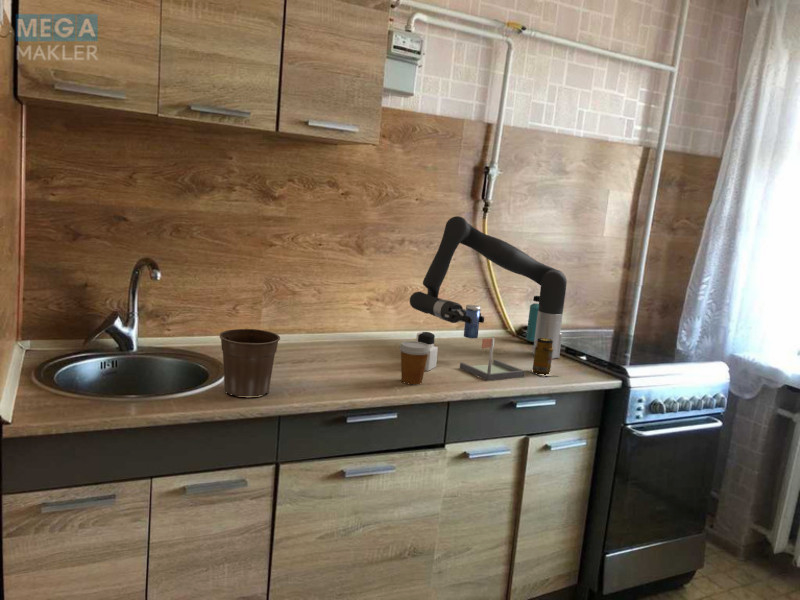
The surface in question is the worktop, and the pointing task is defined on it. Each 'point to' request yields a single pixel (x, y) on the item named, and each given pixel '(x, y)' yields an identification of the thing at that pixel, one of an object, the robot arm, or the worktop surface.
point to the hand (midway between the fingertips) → (477, 320)
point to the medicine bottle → (432, 355)
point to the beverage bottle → (532, 319)
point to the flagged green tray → (493, 367)
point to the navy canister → (473, 327)
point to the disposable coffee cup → (413, 361)
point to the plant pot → (248, 360)
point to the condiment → (542, 356)
